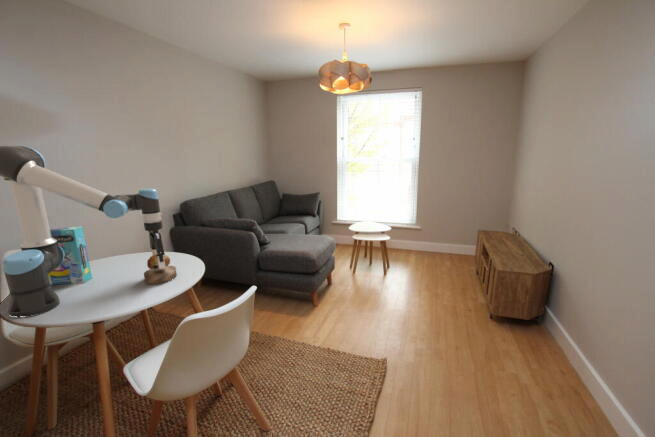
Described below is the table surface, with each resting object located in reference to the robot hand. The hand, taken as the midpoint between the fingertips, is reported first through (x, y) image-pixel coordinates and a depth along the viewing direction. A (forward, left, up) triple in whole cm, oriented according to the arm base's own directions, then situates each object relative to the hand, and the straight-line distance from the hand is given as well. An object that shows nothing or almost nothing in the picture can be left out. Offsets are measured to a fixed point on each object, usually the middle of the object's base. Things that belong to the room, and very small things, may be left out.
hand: (159, 264), depth 150 cm
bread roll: (0, 0, -1) cm, 1 cm away
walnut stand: (0, 0, -7) cm, 7 cm away
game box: (-36, +28, -7) cm, 46 cm away
